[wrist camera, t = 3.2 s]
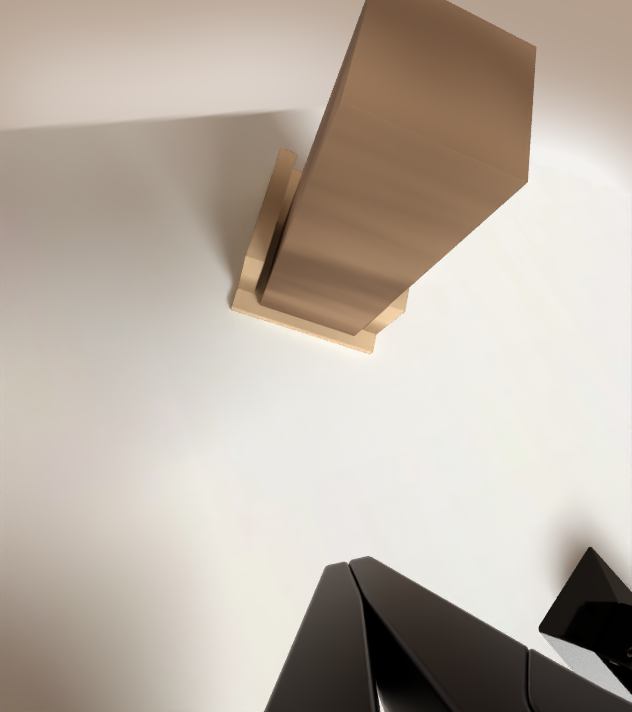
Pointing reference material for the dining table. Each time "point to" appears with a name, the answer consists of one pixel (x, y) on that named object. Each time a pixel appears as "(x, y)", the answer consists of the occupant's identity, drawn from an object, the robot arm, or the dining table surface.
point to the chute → (262, 257)
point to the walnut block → (403, 159)
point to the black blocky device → (594, 625)
